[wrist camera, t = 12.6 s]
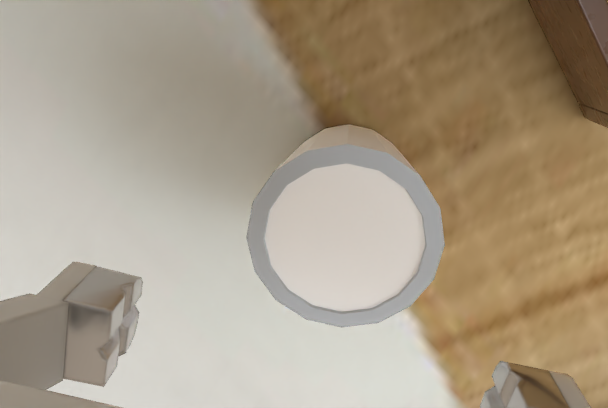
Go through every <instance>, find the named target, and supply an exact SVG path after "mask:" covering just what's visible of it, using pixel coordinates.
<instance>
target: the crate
mask: <svg viewBox="0 0 608 408" xmlns="http://www.w3.org/2000/svg"><path fill="white" fill-rule="evenodd" d="M528 1H529V3H530V5H531V7H532V9H533V11H534V13H535V15H536V17H537V19H538V22H539V24H540V26H541V28H542V30H543V32H544V34H545V36H546V38H547V40H548V42H549V44H550V46H551V48H552V50H553V52H554V54H555V56H556V58H557V60H558V62H559V65H560V67H561V69H562V71H563V73H564V75H565V77H566V79H567V81H568V83H569V85H570V87H571V89H572V91H573V93H574V95H575V97H576V99H577V101H578V102H579V106H580V108H581V110H582V112H583V114H584V116H585V118H586V119H588V120H591V121H593V122H595V123H598V124H600V125H602V126H605V127H607V128H608V2H607V0H528Z"/></svg>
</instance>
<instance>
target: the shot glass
mask: <svg viewBox="0 0 608 408" xmlns="http://www.w3.org/2000/svg"><path fill="white" fill-rule="evenodd" d="M247 241H248V246H249V250H250V254H251V258H252V262H253V266H254V270H255V272H256V274H257V275H258V276H259V278H260V279H261V281H262V282H263V283H264V285H265V286H266V287H267V289H268V290H269V291H270V293H271V294H272V296H273V297H274V298H275V300H277V301H278V302H280V303H281V304H283V305H284V306H286V307H288V308H289V309H291V310H292V311H294V312H295V313H297V314H298V315H300V316H302V317H303V318H305V319H307V320H311V321H316V322H320V323H325V324H329V325H333V326H338V327H348V326H357V325H365V324H373V323H379V322H381V321H383V320H385V319H387V318H388V317H390V316H392V315H394V314H396V313H398V312H400V311H402V310H404V309H406V308H408V307H410V306H411V305H412V304H413V303H414V301H415V300H416V299H417V298H418V297H419V296H420V295H421V293H422V292H423V291H424V290H425V289H426V288H427V287H428V285H429V284H430V283H431V282H432V281H433V280H434V277H435V274H436V271H437V268H438V265H439V262H440V258H441V255H442V252H443V249H444V246H445V243H444V234H443V226H442V218H441V210H440V207H439V205H438V204H437V202H436V201H435V199H434V197H433V196H432V194H431V192H430V191H429V189H428V188H427V186H426V184H425V183H424V181H423V179H422V178H421V176H420V175H419V174H418V173H417V171H416V170H415V169H414V168H413V167H412V165H411V164H410V163H409V162H408V161H407V160H406V158H405V157H404V156H403V155H402V154H401V153H400V151H399V150H398V149H397V148H396V147H395V146H394V144H393V143H391V142H390V141H388V140H387V139H386V138H384V137H383V136H381V135H380V134H378V133H377V132H376V131H374V130H373V129H368V128H364V127H359V126H354V125H350V124H348V125H342V126H336V127H331V128H325V129H323V130H322V131H320V132H319V133H317V134H316V135H314V136H312V137H311V138H309V139H308V140H306V141H305V142H304V143H303V144H302V145H301V146H299V147H298V148H297V149H296V150H295V151H294V152H293V153H292V154H291V155H290V156H289V157H288V158H287V159H286V160H285V161H284V162H283V163H282V164H281V165H280V166H279V167H278V168H277V169H276V170H275V171H274V172H273V173H272V175H271V176H270V178H269V179H268V181H267V182H266V184H265V185H264V187H263V188H262V190H261V191H260V192H259V194H258V195H257V197H256V198H255V200H254V201H253V204H252V210H251V215H250V221H249V226H248V232H247Z"/></svg>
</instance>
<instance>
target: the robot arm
mask: <svg viewBox="0 0 608 408" xmlns="http://www.w3.org/2000/svg"><path fill="white" fill-rule="evenodd" d="M142 284H143V281H142V278H141V277H138V276H134V275H130V274H126V273H122V272H118V271H114V270H110V269H106V268H102V267H97V266H95V265H90V264H86V263H81V262H72V263H71V264H70V265H69V266H67V267H66V268H65V269H64V270H63V271H62V272H61V273H60V274H59V275H58V276H57V277H55V278H54V279H53V280H52V281H51V282H50V283H49V284H48V285H47V286H46V287H45V288H43V289H42V290H41V291H40V292H39V293H38V294H37V295H34V294H26V295H22V296H18V297H14V298H11V299H7V300H3V301H0V408H122V407H117V406H113V405H109V404H104V403H100V402H96V401H91V400H87V399H82V398H78V397H74V396H69V395H65V394H61V393H56V392H52V391H47V390H46V389H48V388H50V387H52V386H54V385H56V384H57V383H59V382H61V381H63V379H68V380H73V381H78V382H83V383H88V384H93V385H98V386H103V387H104V386H105V384H106V383H107V381H108V379H109V378H110V376H111V375H112V373H113V372H114V370H115V369H116V367H117V362H118V356H120V355H123V354H125V353H126V351H127V350H128V348H129V346H130V345H131V342H132V340H133V337H134V335H135V332H136V328H137V323H138V317H139V311H138V309H137V308H136V306H135V304H136V302H137V301H138V299H139V298H140V297H141V294H142ZM492 378H493V381H494V383H495V386H494V387H492V388H491V389H489V390H487V391H486V392H485V394H484V396H483V399H482V402H481V404H480V408H591V407H590V405H589V404H588V402H587V400H586V399H585V397H584V396H583V394H582V392H581V391H580V389H579V388H578V386H577V384H576V383H575V381H574V380H573V378H572V377H571V376H569V375H568V374H564V373H558V372H553V371H548V370H543V369H538V368H533V367H528V366H523V365H518V364H513V363H508V362H503V361H500V362H499V363H498V365H497V366H496V367H495V370H494V372H493V374H492Z"/></svg>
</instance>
